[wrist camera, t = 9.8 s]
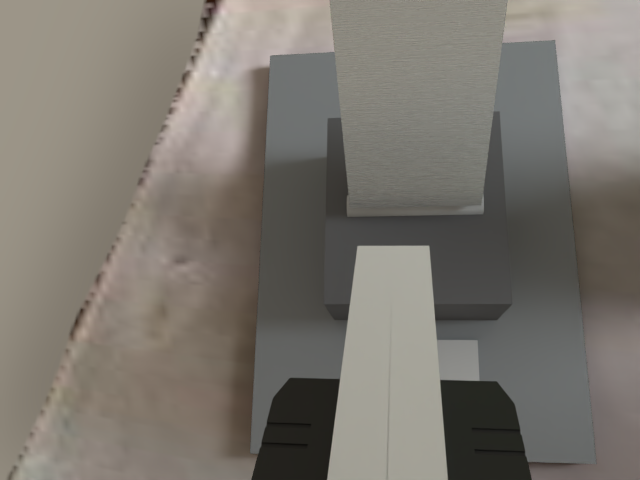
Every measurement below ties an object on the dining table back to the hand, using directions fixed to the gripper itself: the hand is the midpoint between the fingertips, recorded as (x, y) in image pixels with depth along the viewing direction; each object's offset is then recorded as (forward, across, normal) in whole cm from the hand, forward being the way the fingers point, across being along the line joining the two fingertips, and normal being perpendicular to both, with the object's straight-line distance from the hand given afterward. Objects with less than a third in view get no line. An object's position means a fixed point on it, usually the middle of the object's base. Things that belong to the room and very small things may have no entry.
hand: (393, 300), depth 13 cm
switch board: (+18, +1, -8) cm, 20 cm away
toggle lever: (+14, +1, -4) cm, 15 cm away
